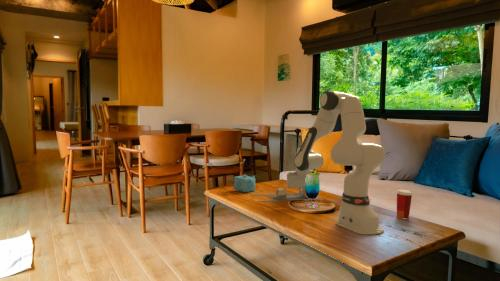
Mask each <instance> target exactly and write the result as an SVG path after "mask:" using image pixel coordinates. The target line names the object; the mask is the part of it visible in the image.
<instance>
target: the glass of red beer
mask: <svg viewBox="0 0 500 281" xmlns="http://www.w3.org/2000/svg"><path fill="white" fill-rule="evenodd" d="M395 194H396V218H397V217H399V218H398V219H400V218H408V219H409V218H410V211H411V204H412V199H413V198H412V197H413V192H412V191H410V190H408V189H397V190H396V192H395Z"/></svg>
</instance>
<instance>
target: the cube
mask: <svg viewBox="0 0 500 281" xmlns="http://www.w3.org/2000/svg"><path fill="white" fill-rule="evenodd" d="M275 194H276V197H277V198H279V199H285V198H287V194H288V190H287V189H286V188H284V187H283V188H275Z"/></svg>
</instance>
